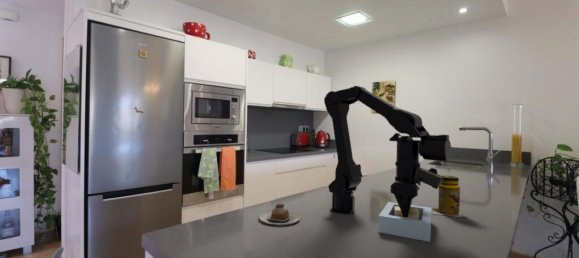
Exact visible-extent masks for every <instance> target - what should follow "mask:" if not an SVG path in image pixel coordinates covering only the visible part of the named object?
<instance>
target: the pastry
mask: <svg viewBox="0 0 579 258" xmlns="http://www.w3.org/2000/svg"><path fill="white" fill-rule="evenodd" d="M267 218H268V220H270V221H272V222H270V221H268V220H267ZM290 218H291V219H292V220H291V221H290V222H287V221H288V220H289V219H290ZM258 219H259V220H260V222H262V223H264V224H265V225H270V226H271V225H272V226H276V227H277V226H278V227H281V226H290V225H293V224H294V223H297V222H299V221H300V220H301V216H300V215H299V214H297V213H295V212H293V211H289V209H288V208H287V207H286V206H285V204H284V203H277V204H275V206H274V207H273V208H272V209H271V211H266V212H263V213H261V214H260V215H259V218H258ZM275 222H276V223H275Z"/></svg>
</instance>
